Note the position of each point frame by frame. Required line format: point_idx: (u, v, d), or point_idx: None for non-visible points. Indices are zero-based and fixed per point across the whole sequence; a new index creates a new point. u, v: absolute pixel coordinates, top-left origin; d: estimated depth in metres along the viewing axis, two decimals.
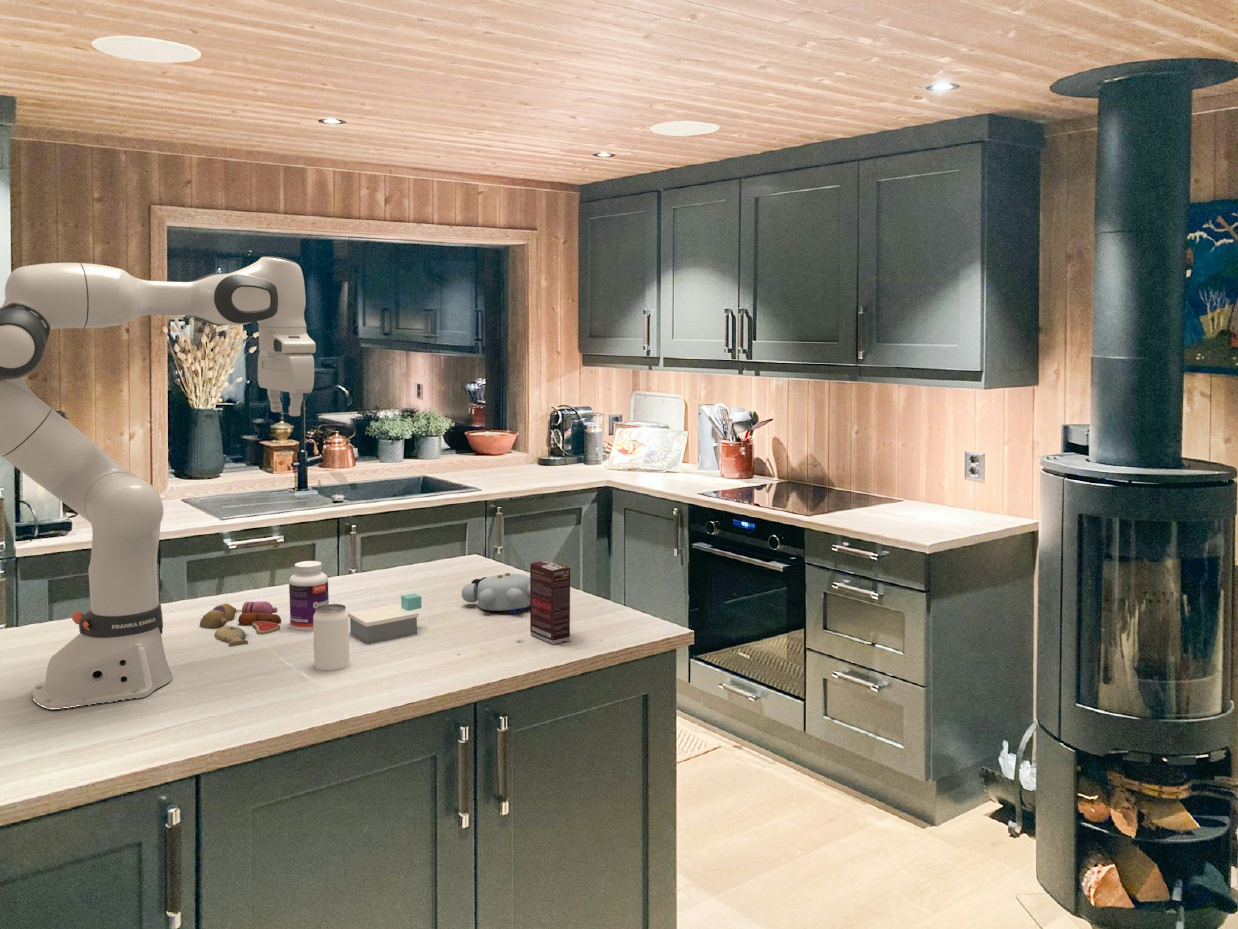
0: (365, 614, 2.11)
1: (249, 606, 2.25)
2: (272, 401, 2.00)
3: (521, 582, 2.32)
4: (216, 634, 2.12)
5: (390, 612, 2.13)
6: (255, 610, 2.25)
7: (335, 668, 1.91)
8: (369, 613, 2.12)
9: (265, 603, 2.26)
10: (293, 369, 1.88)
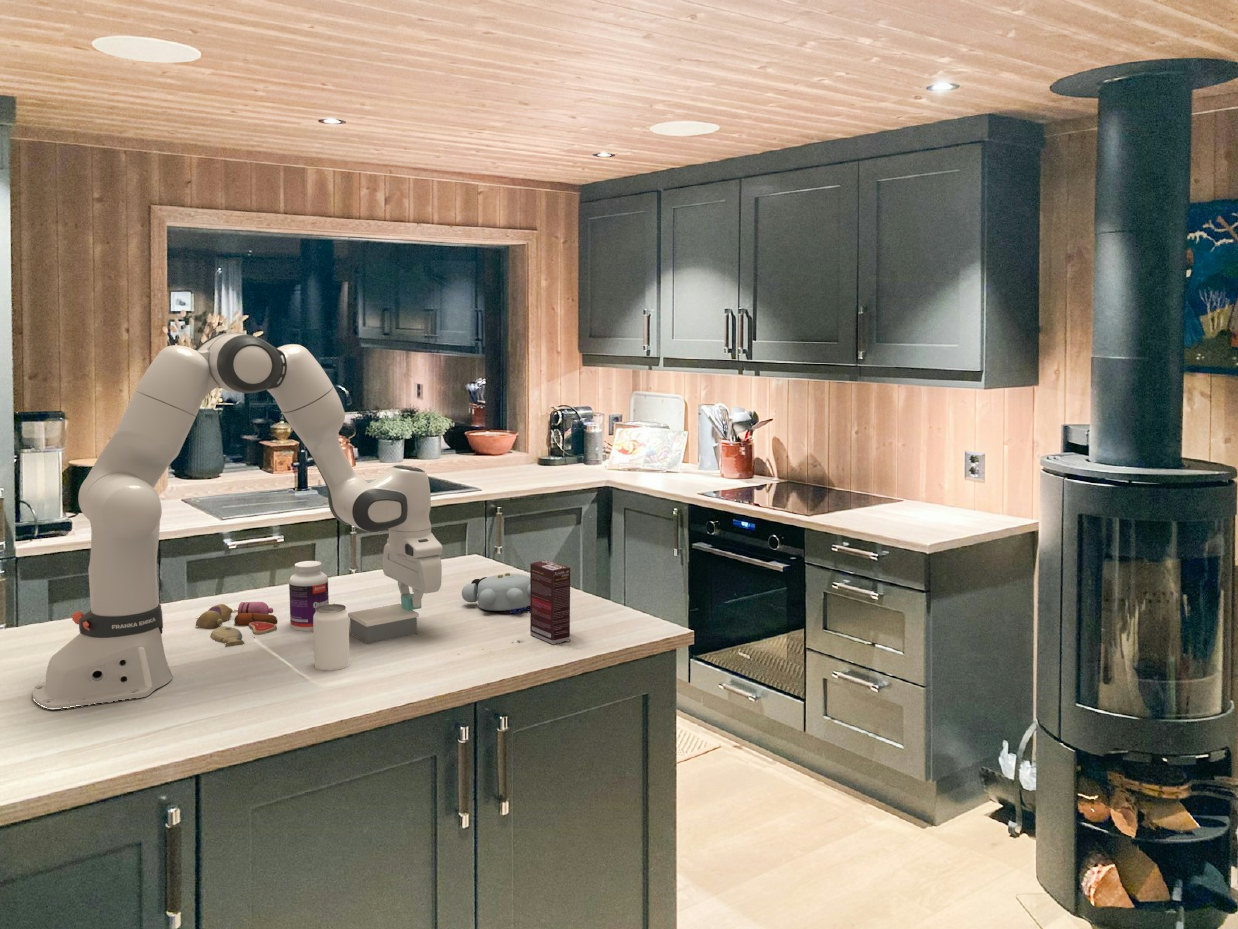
0: (365, 614, 2.11)
1: (245, 606, 2.25)
2: (402, 592, 2.18)
3: (521, 582, 2.32)
4: (212, 635, 2.11)
5: (390, 612, 2.13)
6: (251, 611, 2.24)
7: (335, 668, 1.91)
8: (369, 613, 2.12)
9: (261, 603, 2.26)
10: (424, 573, 2.07)
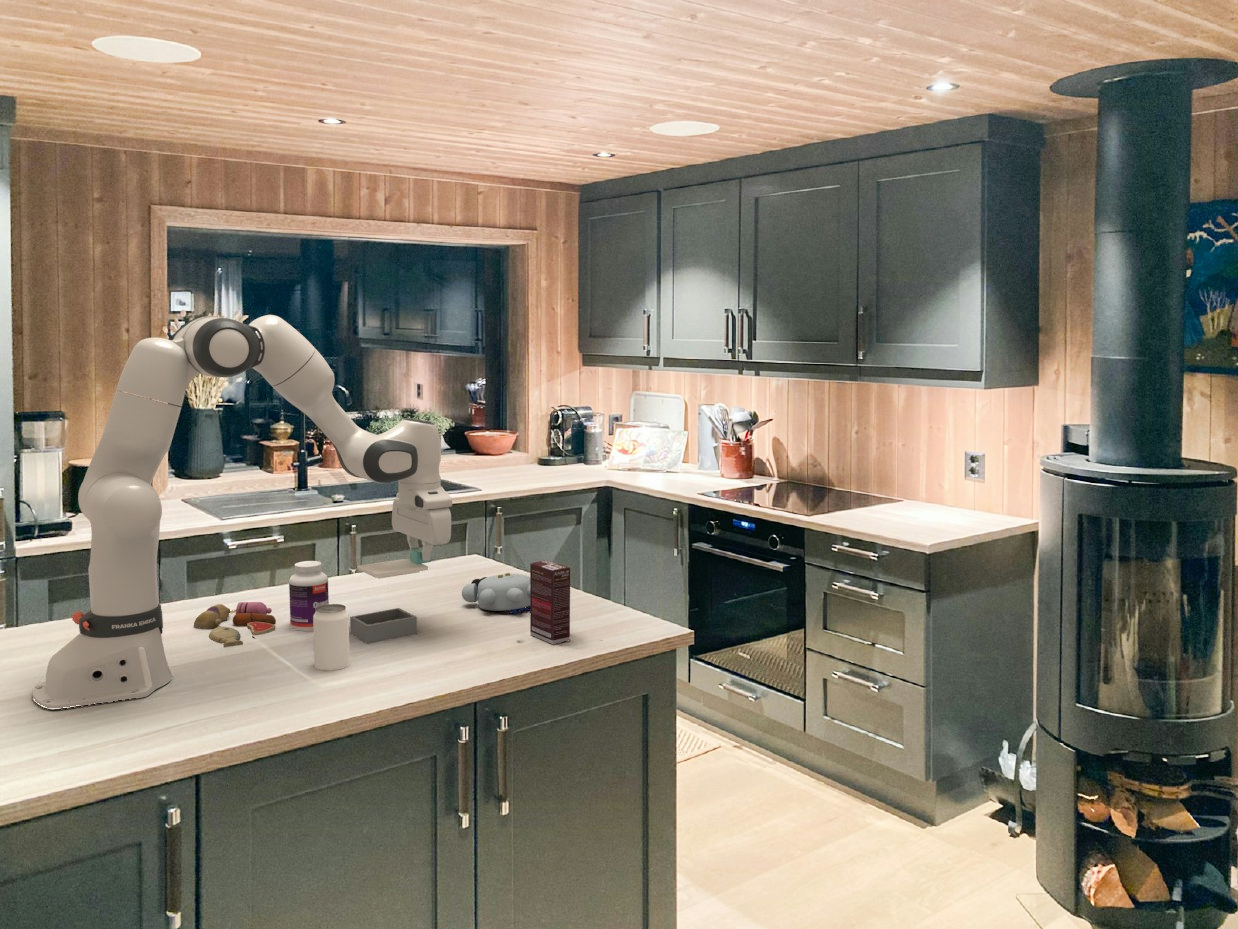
0: (374, 566, 2.11)
1: (243, 607, 2.24)
2: (412, 546, 2.18)
3: (521, 582, 2.32)
4: (211, 635, 2.11)
5: (399, 565, 2.13)
6: (249, 611, 2.24)
7: (335, 668, 1.91)
8: (378, 565, 2.12)
9: (259, 604, 2.25)
10: (434, 524, 2.07)
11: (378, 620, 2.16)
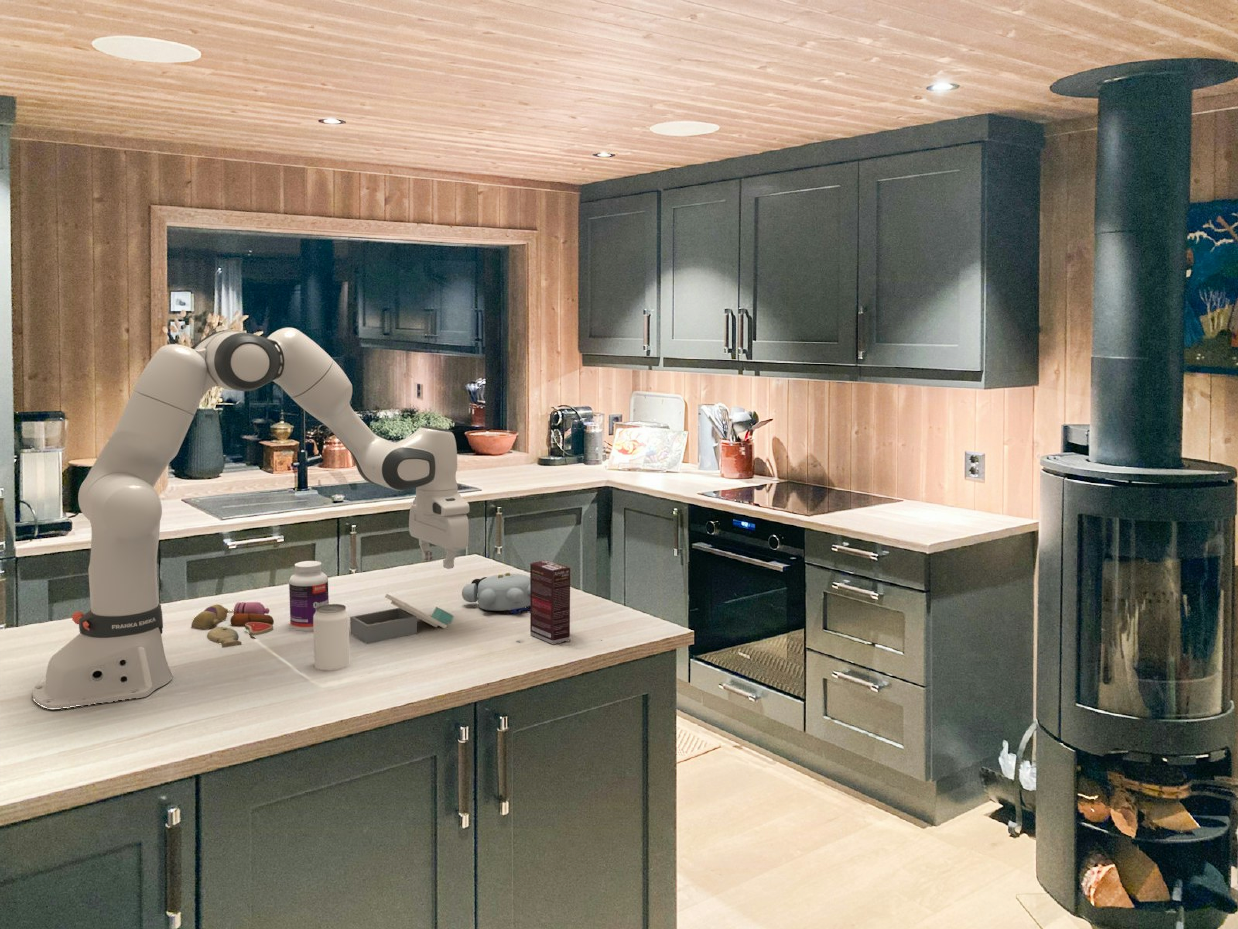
0: None
1: (241, 607, 2.24)
2: (423, 550, 2.22)
3: (521, 582, 2.32)
4: (209, 635, 2.11)
5: None
6: (247, 611, 2.24)
7: (335, 668, 1.91)
8: None
9: (257, 604, 2.25)
10: (452, 531, 2.10)
11: (378, 620, 2.16)
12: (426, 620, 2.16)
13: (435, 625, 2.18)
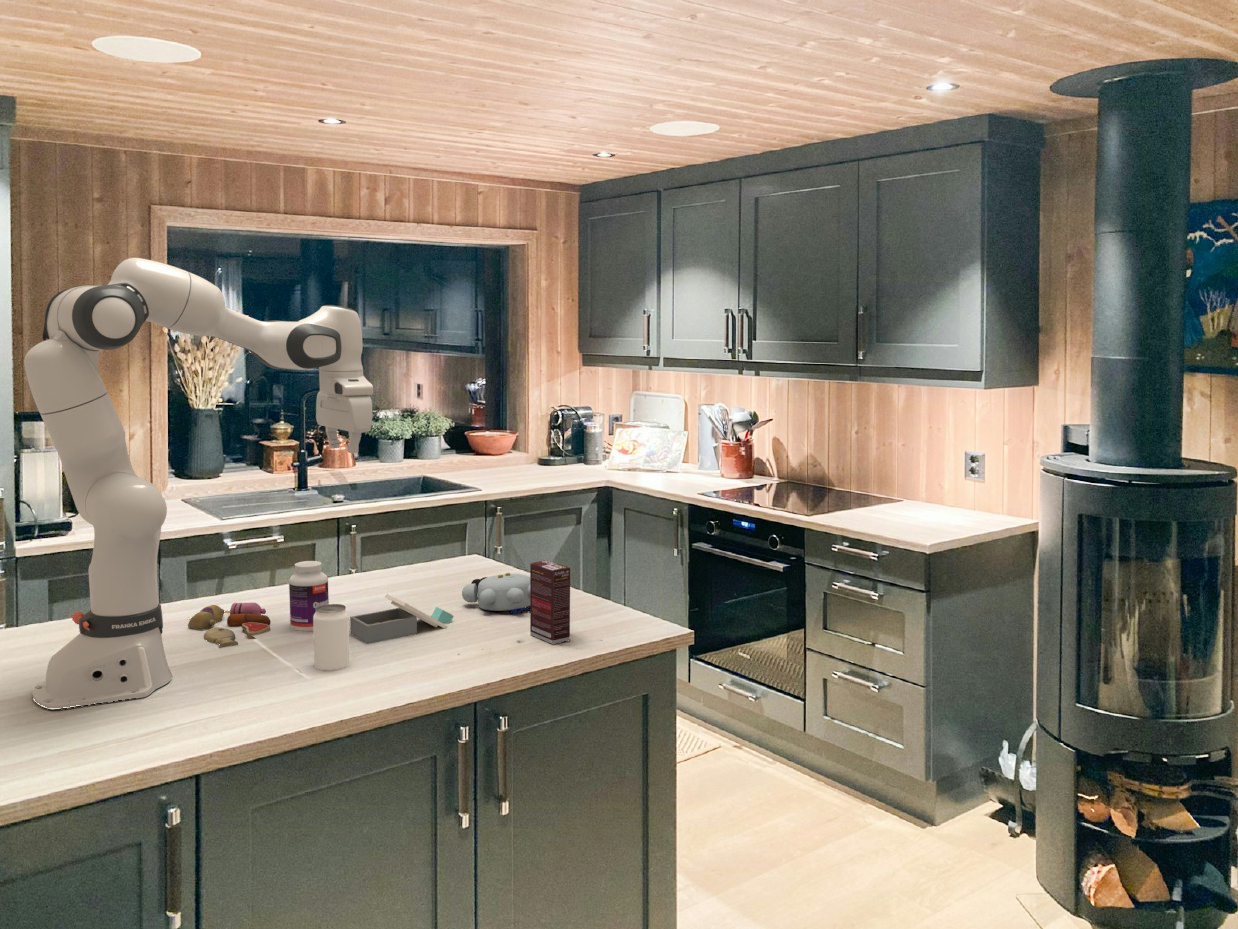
0: None
1: (237, 607, 2.24)
2: (330, 438, 2.15)
3: (521, 582, 2.32)
4: (205, 635, 2.11)
5: None
6: (243, 611, 2.24)
7: (335, 668, 1.91)
8: None
9: (253, 604, 2.25)
10: (354, 411, 2.02)
11: (378, 620, 2.16)
12: (426, 620, 2.16)
13: (435, 625, 2.18)
